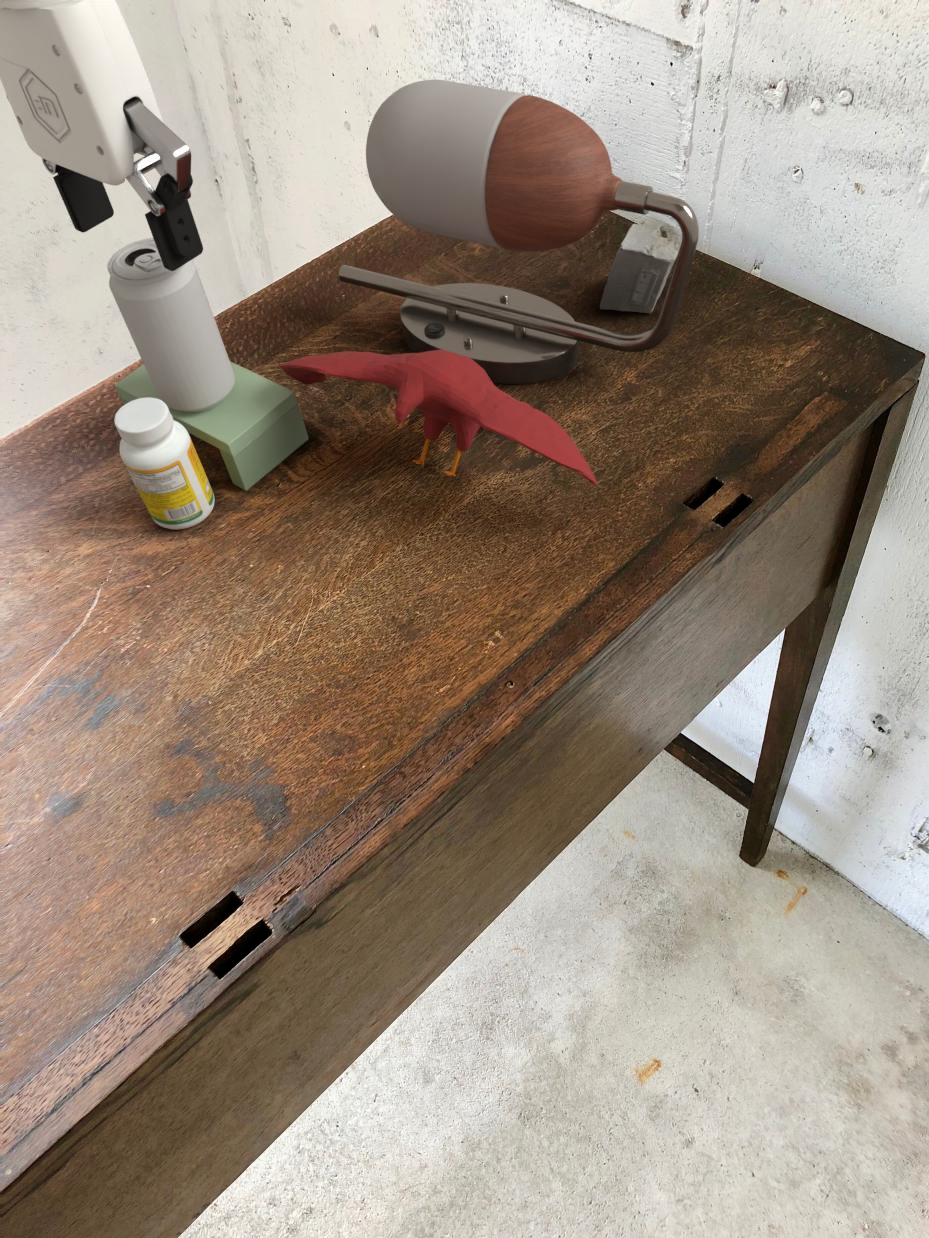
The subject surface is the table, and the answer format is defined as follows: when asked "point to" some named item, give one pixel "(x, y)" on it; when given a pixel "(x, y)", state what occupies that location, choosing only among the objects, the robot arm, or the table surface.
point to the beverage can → (171, 327)
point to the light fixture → (503, 220)
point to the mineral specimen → (641, 266)
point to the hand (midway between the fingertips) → (139, 241)
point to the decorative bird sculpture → (448, 400)
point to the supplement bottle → (163, 464)
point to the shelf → (238, 422)
